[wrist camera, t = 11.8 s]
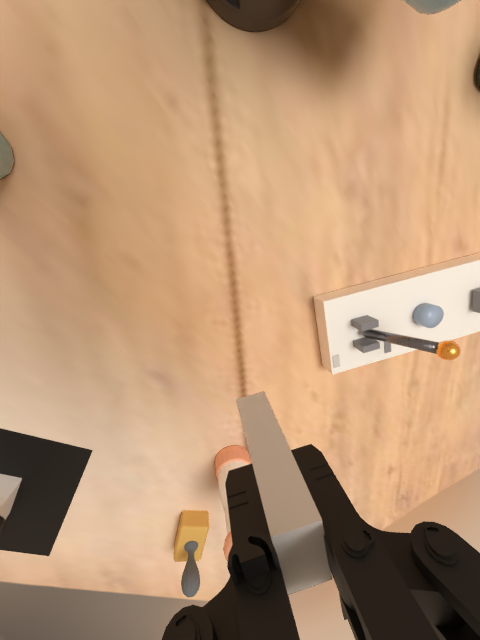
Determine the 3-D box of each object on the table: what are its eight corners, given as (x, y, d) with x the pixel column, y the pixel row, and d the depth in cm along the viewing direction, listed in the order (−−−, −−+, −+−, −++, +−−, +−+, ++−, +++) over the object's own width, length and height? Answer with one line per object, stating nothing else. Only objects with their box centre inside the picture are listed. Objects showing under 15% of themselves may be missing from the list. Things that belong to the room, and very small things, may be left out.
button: (413, 306, 46) (422, 309, 44) (433, 300, 47) (443, 303, 45) (413, 327, 48) (422, 330, 46) (433, 321, 48) (443, 324, 46)
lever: (357, 327, 45) (455, 347, 33) (366, 322, 46) (464, 339, 35) (358, 341, 46) (454, 365, 34) (367, 335, 47) (463, 357, 36)
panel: (313, 296, 47) (332, 306, 41) (491, 249, 50) (535, 251, 44) (322, 364, 52) (340, 383, 45) (485, 317, 55) (524, 328, 48)
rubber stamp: (200, 543, 61) (201, 612, 50) (174, 543, 60) (169, 614, 48) (208, 510, 58) (211, 576, 47) (182, 510, 57) (178, 577, 46)
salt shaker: (215, 446, 54) (225, 553, 36) (250, 443, 55) (277, 545, 37) (214, 475, 56) (224, 589, 38) (248, 471, 57) (273, 580, 39)
